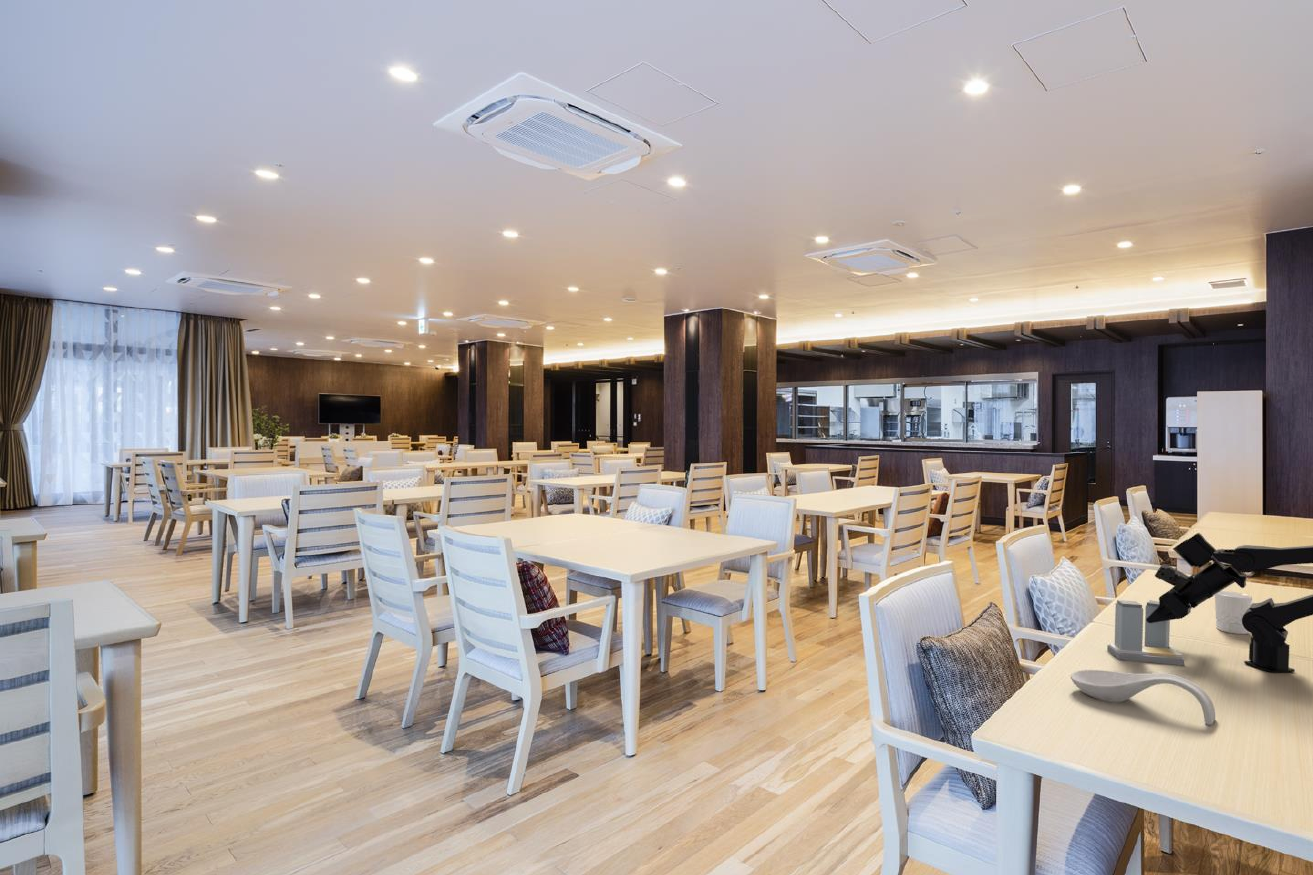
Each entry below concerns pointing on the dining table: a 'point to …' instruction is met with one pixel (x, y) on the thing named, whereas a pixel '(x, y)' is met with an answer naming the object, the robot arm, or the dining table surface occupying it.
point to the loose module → (1156, 629)
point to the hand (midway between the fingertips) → (1151, 618)
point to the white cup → (1231, 611)
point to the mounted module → (1129, 625)
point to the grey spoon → (1135, 687)
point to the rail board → (1147, 655)
